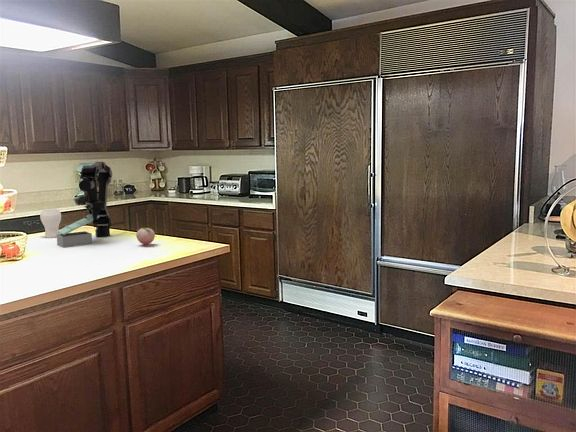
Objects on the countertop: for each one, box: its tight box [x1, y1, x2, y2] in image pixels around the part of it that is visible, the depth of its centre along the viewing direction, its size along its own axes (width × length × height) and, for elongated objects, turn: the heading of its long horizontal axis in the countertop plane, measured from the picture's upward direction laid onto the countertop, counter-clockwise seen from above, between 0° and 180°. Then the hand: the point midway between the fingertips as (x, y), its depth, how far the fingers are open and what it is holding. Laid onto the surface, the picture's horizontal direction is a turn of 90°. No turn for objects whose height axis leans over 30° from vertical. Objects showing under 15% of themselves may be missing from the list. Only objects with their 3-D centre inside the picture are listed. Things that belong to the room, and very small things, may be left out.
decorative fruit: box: [135, 227, 156, 246], centre depth 241 cm, size 9×8×10 cm
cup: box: [39, 208, 62, 239], centre depth 269 cm, size 11×11×15 cm
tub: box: [56, 230, 93, 249], centre depth 243 cm, size 14×10×6 cm
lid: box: [57, 213, 99, 235], centre depth 243 cm, size 20×11×3 cm, turn 130°
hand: (93, 219), depth 248 cm, fingers closed on lid, 3 cm apart
